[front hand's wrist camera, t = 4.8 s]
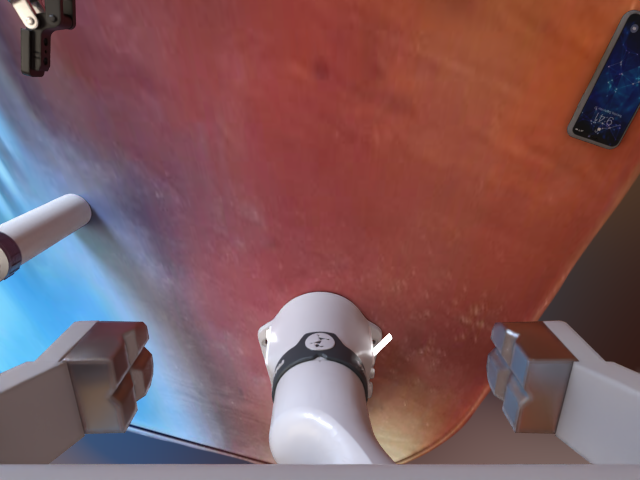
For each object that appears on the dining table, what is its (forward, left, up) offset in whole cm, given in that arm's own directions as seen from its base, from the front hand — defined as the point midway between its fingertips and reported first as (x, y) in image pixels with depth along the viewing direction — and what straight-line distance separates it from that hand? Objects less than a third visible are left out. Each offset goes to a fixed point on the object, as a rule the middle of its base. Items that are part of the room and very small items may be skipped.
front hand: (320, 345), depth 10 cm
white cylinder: (-11, +34, -48) cm, 60 cm away
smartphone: (+5, -37, -48) cm, 61 cm away
